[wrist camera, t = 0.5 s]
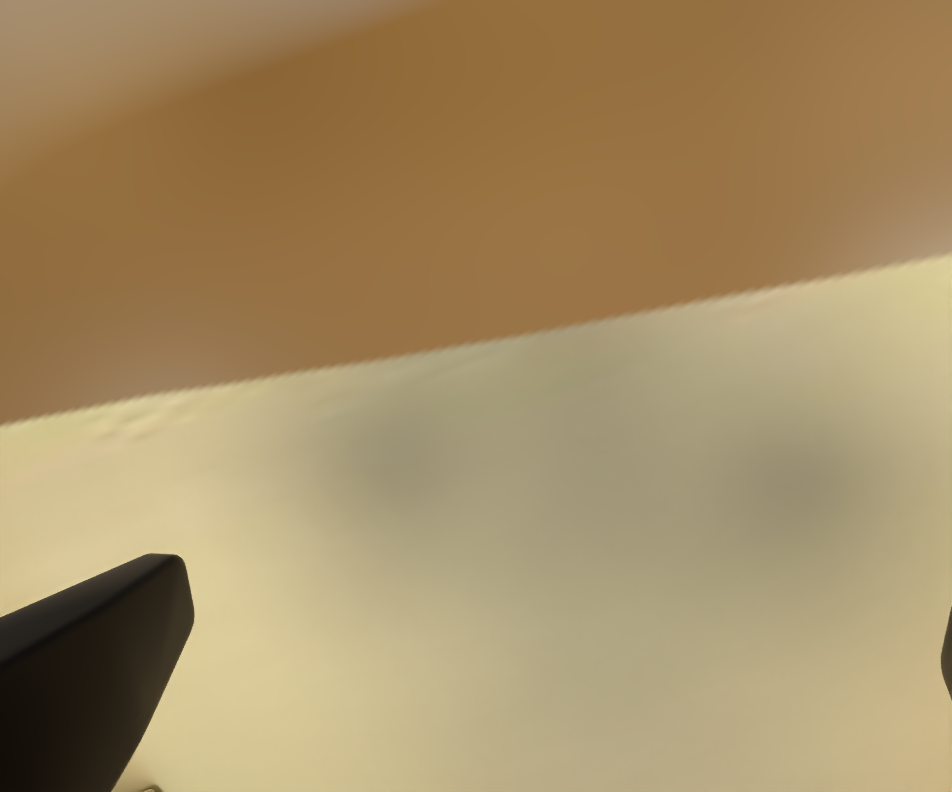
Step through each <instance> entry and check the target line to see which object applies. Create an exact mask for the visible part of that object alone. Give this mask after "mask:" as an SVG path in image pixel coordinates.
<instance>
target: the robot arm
mask: <svg viewBox="0 0 952 792" xmlns="http://www.w3.org/2000/svg"><path fill="white" fill-rule="evenodd" d="M193 623H194V605H193V600H192V595H191V590H190V585H189V580H188V575H187V570H186V566H185V563H184V561H183V559H182V558H181V557H179V556H178V555H173V554H153V553H151V554H146V555H143V556H141V557H139V558H136V559H134V560H132V561H129V562H127V563H125V564H122V565H120V566H118V567H116V568H113V569H111V570H109V571H106V572H104V573H102V574H99V575H97V576H95V577H93V578H90V579H88V580H86V581H83V582H81V583H79V584H76V585H74V586H72V587H70V588H67V589H65V590H63V591H60V592H58V593H56V594H53V595H51V596H49V597H47V598H44V599H42V600H40V601H37V602H35V603H33V604H30V605H28V606H26V607H24V608H21V609H19V610H17V611H14V612H12V613H10V614H7V615H5V616H3V617H1V618H0V792H112V790H113V788H114V787H115V785H116V783H117V781H118V780H119V778H120V776H121V775H122V773H123V771H124V769H125V768H126V766H127V764H128V762H129V761H130V759H131V757H132V755H133V754H134V752H135V750H136V748H137V746H138V744H139V743H140V741H141V739H142V737H143V735H144V733H145V731H146V729H147V727H148V725H149V723H150V721H151V719H152V716H153V714H154V712H155V710H156V708H157V705H158V703H159V701H160V699H161V697H162V694H163V692H164V690H165V688H166V686H167V683H168V681H169V679H170V677H171V674H172V672H173V670H174V668H175V666H176V663H177V661H178V659H179V657H180V655H181V652H182V650H183V648H184V646H185V644H186V641H187V639H188V637H189V635H190V633H191V630H192V627H193ZM941 669H942V674H943V677H944V681H945V683H946V686H947V689H948V691H949V694H950V697H951V699H952V607H951V611H950V616H949V620H948V625H947V630H946V634H945V639H944V643H943V648H942V653H941Z"/></svg>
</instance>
